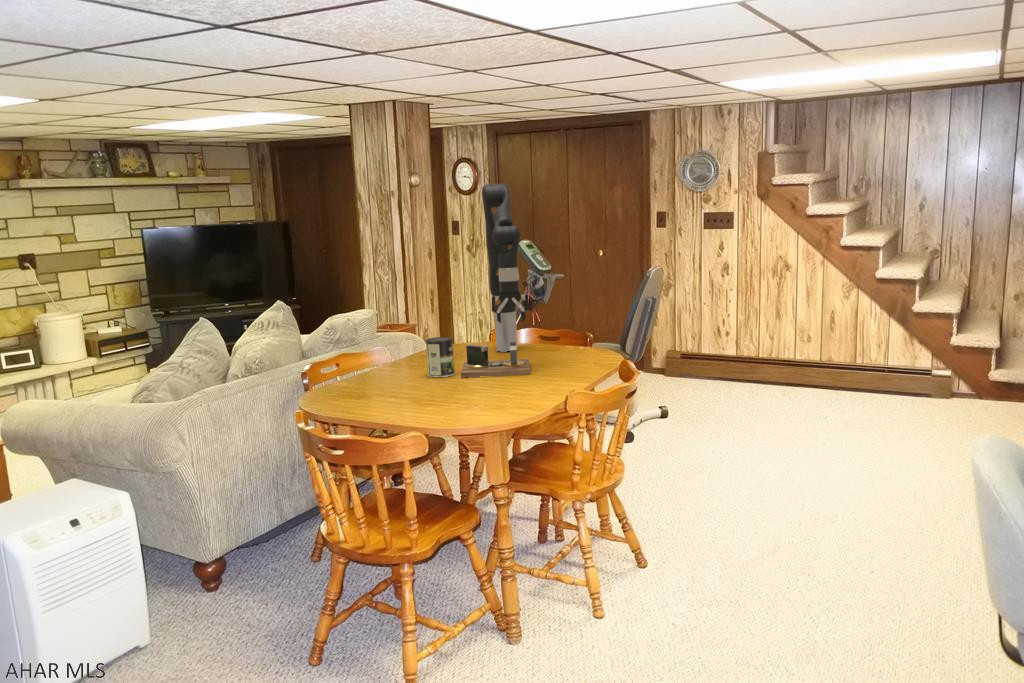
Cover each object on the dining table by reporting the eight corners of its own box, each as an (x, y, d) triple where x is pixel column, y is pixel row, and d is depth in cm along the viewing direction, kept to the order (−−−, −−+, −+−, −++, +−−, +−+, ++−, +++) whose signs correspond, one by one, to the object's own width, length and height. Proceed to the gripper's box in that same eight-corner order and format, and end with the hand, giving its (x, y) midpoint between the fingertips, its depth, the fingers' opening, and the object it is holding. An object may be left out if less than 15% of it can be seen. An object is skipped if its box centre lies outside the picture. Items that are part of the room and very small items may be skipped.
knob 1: (462, 367, 314) (461, 346, 313) (476, 363, 320) (475, 343, 319) (479, 369, 308) (478, 348, 307) (493, 365, 314) (492, 345, 313)
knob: (503, 362, 319) (502, 342, 317) (524, 361, 319) (523, 341, 317) (503, 367, 310) (502, 346, 308) (524, 366, 310) (523, 345, 308)
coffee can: (455, 371, 317) (453, 336, 315) (454, 377, 307) (451, 340, 305) (429, 373, 317) (426, 337, 315) (426, 378, 307) (424, 342, 305)
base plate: (464, 366, 326) (464, 359, 325) (529, 363, 325) (528, 355, 325) (461, 378, 304) (460, 370, 303) (530, 374, 304) (530, 366, 303)
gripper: (527, 277, 309) (529, 319, 312) (490, 279, 310) (492, 321, 312) (528, 279, 302) (530, 322, 305) (489, 281, 302) (492, 324, 305)
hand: (511, 322), depth 309 cm, fingers open, 8 cm apart
